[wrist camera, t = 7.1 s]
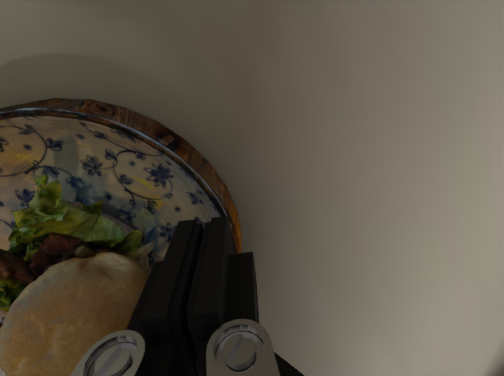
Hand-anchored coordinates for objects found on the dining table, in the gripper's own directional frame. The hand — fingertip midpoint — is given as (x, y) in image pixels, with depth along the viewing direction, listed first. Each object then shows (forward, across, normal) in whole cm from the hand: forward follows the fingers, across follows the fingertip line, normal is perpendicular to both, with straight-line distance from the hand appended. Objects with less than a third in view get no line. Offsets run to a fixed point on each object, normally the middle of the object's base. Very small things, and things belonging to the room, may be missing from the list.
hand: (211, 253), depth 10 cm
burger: (+3, +5, +1) cm, 6 cm away
